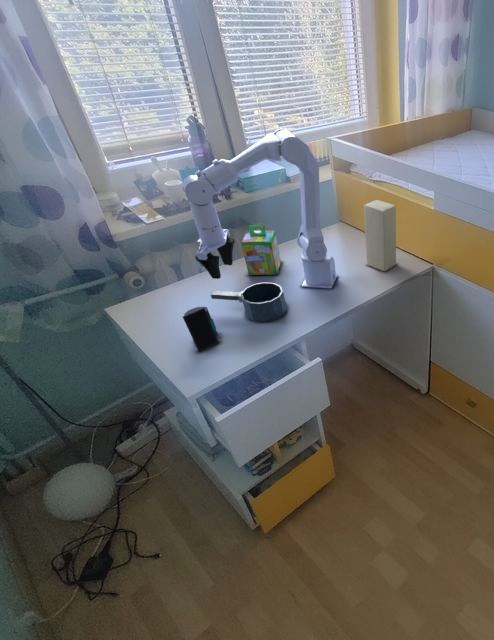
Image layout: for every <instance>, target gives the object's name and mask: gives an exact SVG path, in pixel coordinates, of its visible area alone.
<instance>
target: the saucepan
mask: <svg viewBox="0 0 494 640" xmlns="http://www.w3.org/2000/svg"><path fill="white" fill-rule="evenodd" d="M210 298H211V299H212V300H222V301H223V300H225V301H226V300H227V301H239V302H238V303H242V304H243V307H244V311H245V314H246V318H247V319H249V320H250V321H253V322H255V323H268V322H269V323H270V322H273V321H275V320H278V319H280V318H282V317H283V316H284V315H285V314H286V312H287V302H286V297H285V294H284V290H283V287H282V286H281V285H280V284H277V283H275V282H267V281H266V282H265V281H264V282H258V283H253V284H251V285H249V286H247V287H245V288H243V290H241V291H240V292H239V291H227V290H226V291H225V290H213V291H212V292H211V293H210Z"/></svg>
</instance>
